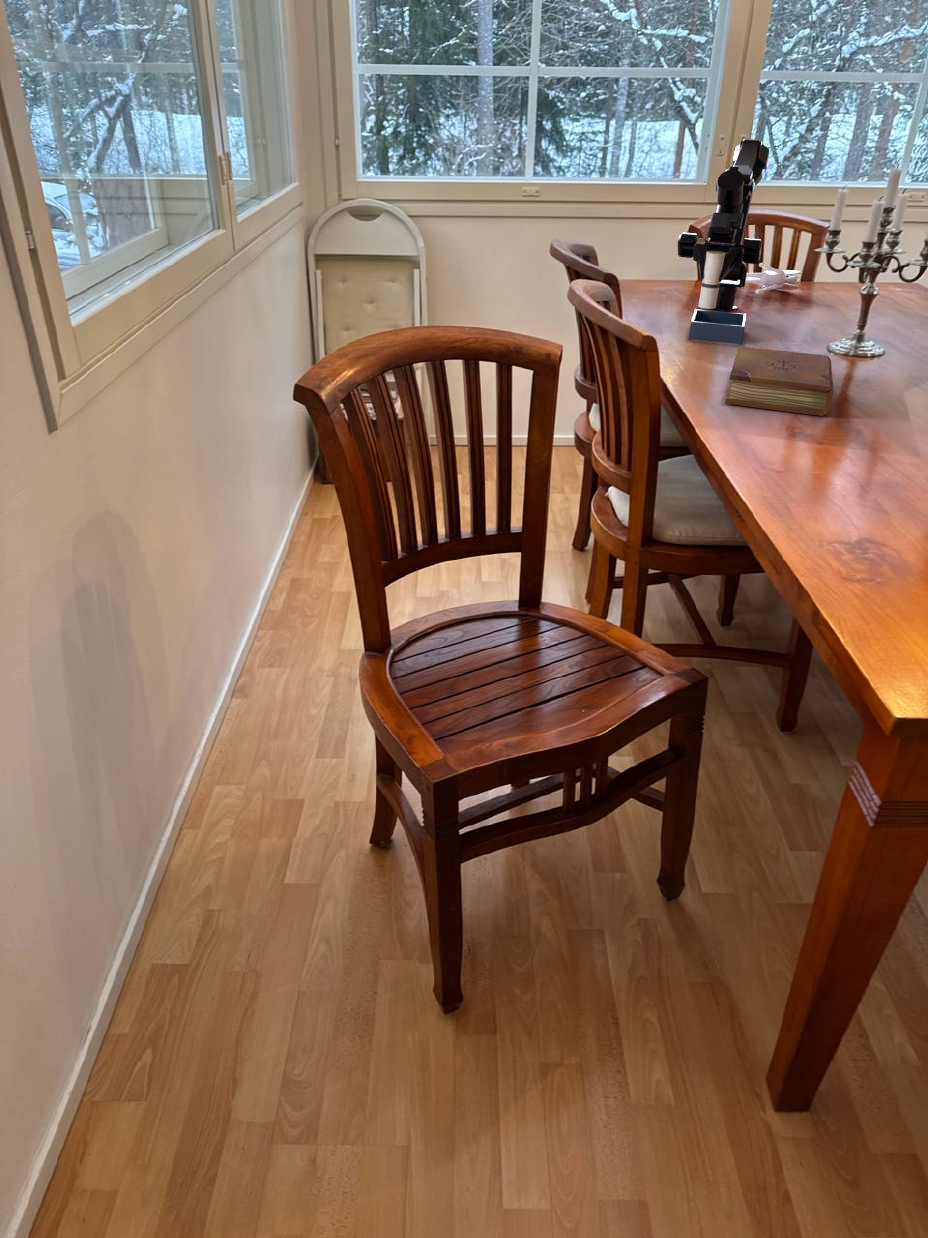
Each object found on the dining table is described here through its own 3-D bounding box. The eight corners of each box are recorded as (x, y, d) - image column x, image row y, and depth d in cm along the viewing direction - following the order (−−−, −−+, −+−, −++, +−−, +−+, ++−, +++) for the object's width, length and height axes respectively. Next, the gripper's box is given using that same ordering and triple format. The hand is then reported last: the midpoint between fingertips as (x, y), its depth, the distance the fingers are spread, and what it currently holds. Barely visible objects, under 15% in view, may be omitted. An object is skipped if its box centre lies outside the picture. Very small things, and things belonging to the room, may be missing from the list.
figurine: (728, 261, 252) (801, 263, 245) (732, 262, 262) (803, 264, 255) (724, 293, 255) (796, 295, 248) (728, 293, 265) (798, 295, 259)
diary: (826, 417, 164) (834, 387, 160) (724, 404, 168) (730, 374, 165) (825, 382, 182) (832, 354, 179) (733, 372, 187) (738, 344, 184)
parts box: (691, 328, 218) (695, 309, 215) (742, 333, 215) (746, 313, 213) (687, 341, 207) (691, 321, 205) (740, 346, 204) (744, 326, 202)
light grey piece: (705, 303, 209) (714, 250, 202) (719, 307, 206) (729, 252, 200) (694, 305, 207) (702, 251, 200) (708, 309, 204) (717, 254, 197)
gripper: (685, 194, 200) (669, 253, 197) (770, 200, 194) (754, 261, 192) (686, 226, 210) (670, 283, 208) (766, 233, 205) (751, 292, 202)
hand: (710, 279), depth 202 cm, fingers closed on light grey piece, 4 cm apart
